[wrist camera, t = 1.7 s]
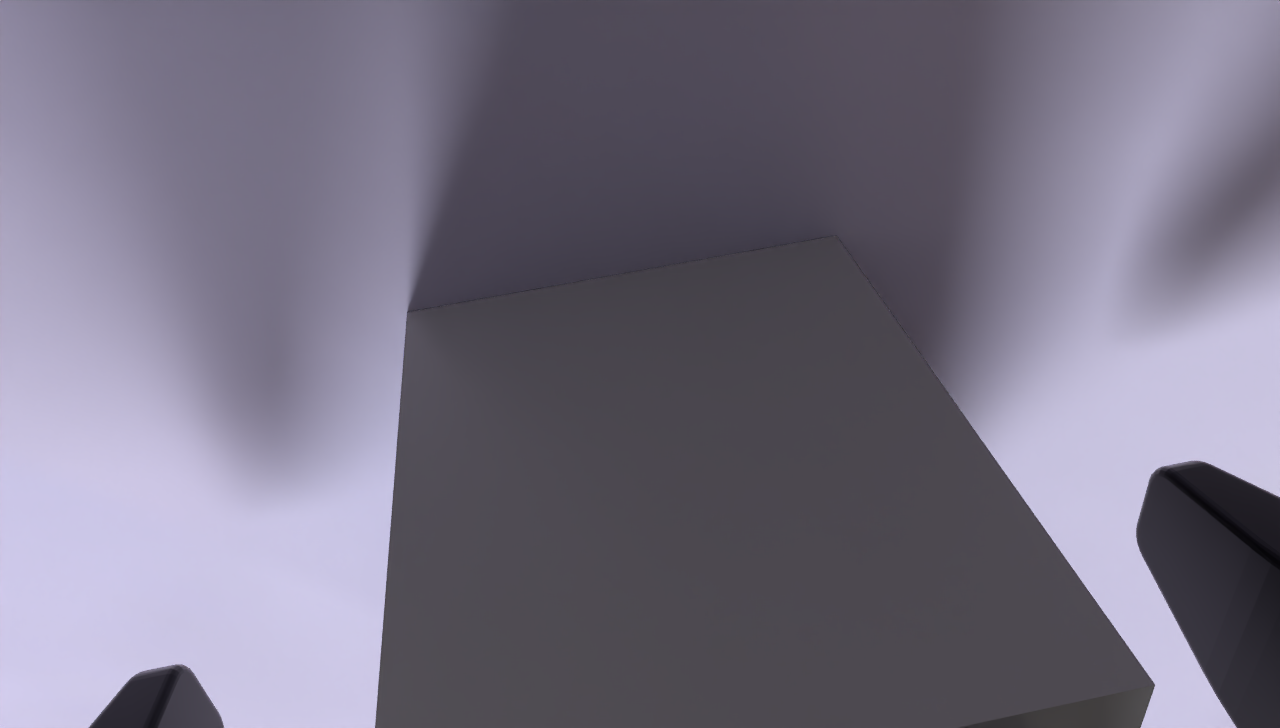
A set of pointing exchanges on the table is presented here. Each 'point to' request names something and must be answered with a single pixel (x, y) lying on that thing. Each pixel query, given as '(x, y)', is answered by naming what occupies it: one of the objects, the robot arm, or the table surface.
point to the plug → (718, 520)
